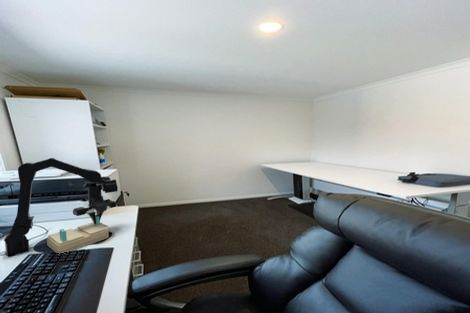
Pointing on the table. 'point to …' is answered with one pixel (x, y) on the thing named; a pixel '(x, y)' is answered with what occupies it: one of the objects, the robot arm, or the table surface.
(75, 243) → the carton
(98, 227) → the flap far
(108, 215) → the table surface
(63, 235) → the flap near
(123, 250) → the table surface
